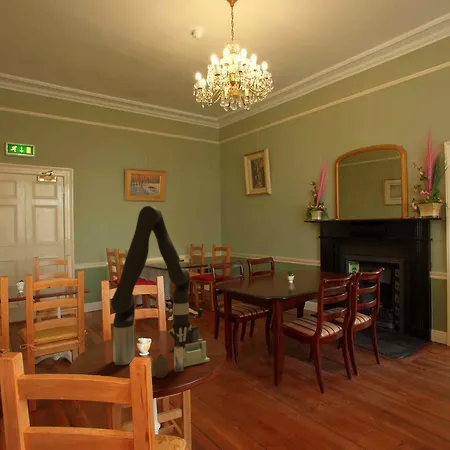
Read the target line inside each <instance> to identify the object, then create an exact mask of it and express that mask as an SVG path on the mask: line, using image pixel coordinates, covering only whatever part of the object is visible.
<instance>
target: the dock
mask: <svg viewBox="0 0 450 450" xmlns="http://www.w3.org/2000/svg"><path fill="white" fill-rule="evenodd" d="M201 341H203V342H201ZM198 342H201V347H199V348H194V349H189V350H185V349H183V368H186V367H189V366H194V365H198V364H204V363H207V362H210V360H211V359H210V358H209V357H207V341H206V340H203V338H200V339H198Z"/></svg>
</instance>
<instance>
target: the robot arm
mask: <svg viewBox="0 0 450 450" xmlns="http://www.w3.org/2000/svg"><path fill="white" fill-rule="evenodd" d="M152 232H153V234H154V237H155V238H156V242H157V246H158V249H159V253H160V255H161V257H162V260H163V261H164V264H165V265H166V270H167V273H168V278H169V280H170V281H171V283H173V284H174V285H175V286H174V287H175V289H174V290H173V293H172V323H173V324H172V326H171V327H172V328H171V329H169V330H168V331H167V333H168V334H169V335H170V337H172V338H173V339H174V340H176V341H178V346H182V347H183V349H184V348H185V340H187V339H189V338H190V336H191V334H192V333H193V331H194V330H195V328H194V327H191V326H190V324H191V323H190V319H189V317H190V303H189V289H190V280H191V279H190V272H189V271H188V269H186V268H184V267H182V266H181V264H180V262H181V258H180V255H179V254H178V252H177V250H176V247H175V245H174V244H173V241H172V239H171V237H170V235H169V232H168V230H167V227H166V224H165V220H164V217H163V214H162V211H161V210H160V208H158V207H156V206H151V205H146V206H144V207H142V208H141V209H140V211H139V213H138V216H137V222H136V226H135V230H134V233H133V235H132V236H133V237H132V239H131V242H130V244H129V248H128V251H127V253H126V256H125V260H124V264H123V267H122V269H121V270H122V271H121V274H120V279H119V282H118V285H117V287H116V290H115V291H114V293H113V295H112V298H111V301H110V304H111V309H112V310H113V312H115V314H114V319H113V323H112V324H113V325H112V326H113V341H112V356H113V360H112V361H113V363H114V365H115V366H125V365H129V363H130V362H131V360H132V359H133V358H134V359H135V322H134V321H135V315H136V314H135V313H136V312H135V310H136V309H135V308H136V304H135V303H136V302H135V301H136V300H135V296H134V290H135V287H136V285H137V282H138V280H139V279H140V276H141V275H142V273H143V271H144V268H145V266H146V262H147V261H148V260H147V259H148V257H149V251H150V250H149V248H150V238H151V237H150V236H151V234H152ZM188 329H189V330H188ZM174 331H175V332H176V333H177V336H178V338H177V337H176V336H175V335H174ZM187 331H188V332H187ZM186 332H187V334H186ZM130 364H131V363H130Z"/></svg>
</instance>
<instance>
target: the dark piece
mask: <svg viewBox="0 0 450 450" xmlns="http://www.w3.org/2000/svg"><path fill="white" fill-rule="evenodd" d="M196 313H197V316H189V320H190V319H201V318H203V314H204V313H205V311H204V309H203V308H198V309H196ZM190 326H191V327H194V328H195V330H194V331H193V333H192V334H191V336H190V338H189V339H187V340H185V344H190V343H195V342H198V339H201V326H199V325H194V324H191V323H190ZM188 330H189V329H188ZM187 332H188V331H187ZM187 332H186V334H187ZM174 335H175V336H176V337H177V338H178V336H177V333H176V332H175V331H174ZM173 343H174V345H173V346H174V347H176V346H178V341H176V340H174V342H173ZM174 347H173V348H174Z"/></svg>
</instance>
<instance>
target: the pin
mask: <svg viewBox="0 0 450 450" xmlns="http://www.w3.org/2000/svg"><path fill="white" fill-rule="evenodd" d="M203 341H204V340H203ZM203 341H201V342H203ZM201 342H195V343H190V344H185V348H184V349H185V350H189V349H194V348H199V347H201Z"/></svg>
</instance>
